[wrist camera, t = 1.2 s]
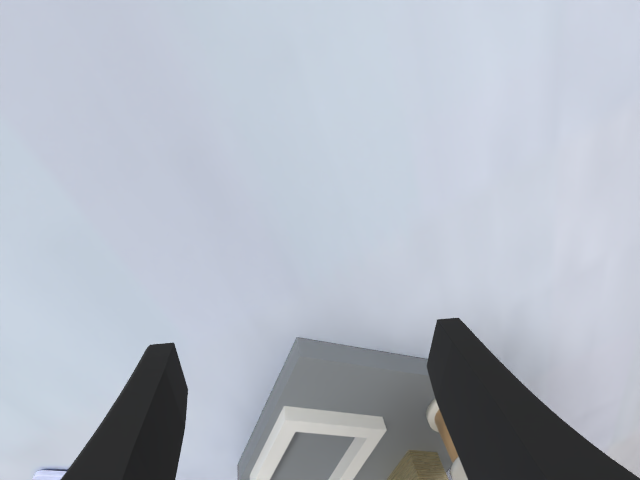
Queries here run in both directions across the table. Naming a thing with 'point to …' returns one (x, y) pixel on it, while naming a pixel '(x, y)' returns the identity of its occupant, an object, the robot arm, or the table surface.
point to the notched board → (342, 416)
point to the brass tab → (419, 467)
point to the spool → (445, 440)
